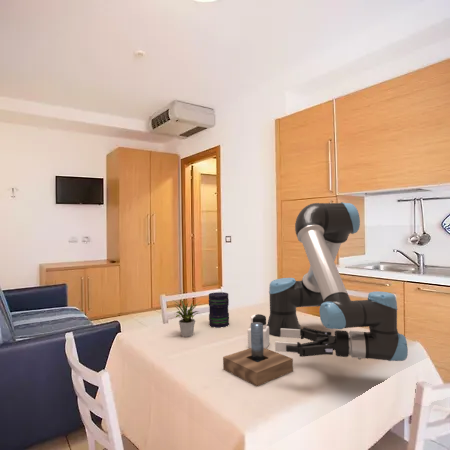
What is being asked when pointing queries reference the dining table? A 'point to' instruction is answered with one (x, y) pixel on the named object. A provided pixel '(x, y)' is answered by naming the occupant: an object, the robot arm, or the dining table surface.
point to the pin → (257, 342)
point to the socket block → (258, 366)
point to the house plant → (186, 319)
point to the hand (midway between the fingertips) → (278, 339)
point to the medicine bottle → (262, 319)
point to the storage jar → (218, 309)
